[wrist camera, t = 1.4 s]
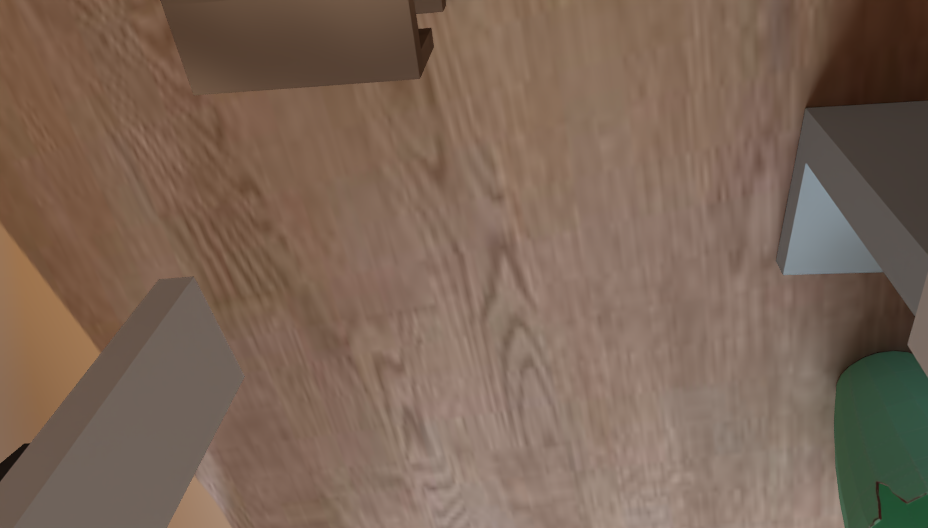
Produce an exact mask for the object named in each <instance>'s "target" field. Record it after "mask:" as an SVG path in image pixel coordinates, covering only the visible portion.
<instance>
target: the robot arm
mask: <svg viewBox="0 0 928 528" xmlns="http://www.w3.org/2000/svg"><path fill="white" fill-rule="evenodd" d="M907 345H908V347H909V348H910V350H911V351H912V353H913V355H914V356H915V358H916V360H917V361H918V363H919V364H920V366H921V368H922V369H923V371H924V372H925V374H926V376H927V377H928V273H927V277H926V280H925V284H924V287H923V291H922V295H921V298H920V302H919V305H918V309H917V312H916V316H915V319H914V323H913V326H912V330H911V334H910V337H909V341H908V344H907ZM244 377H245V376H244V374H243V372H242V370H241V368H240V366H239V364H238V362H237V360H236V358H235V356H234V354H233V352H232V351H231V349H230V347H229V345H228V343H227V341H226V339H225V337H224V335H223V333H222V331H221V329H220V327H219V325H218V323H217V321H216V319H215V317H214V315H213V313H212V311H211V309H210V307H209V305H208V303H207V301H206V299H205V297H204V295H203V293H202V291H201V289H200V287H199V285H198V283H197V281H196V280H195V278H194V276H193V277H181V278H168V279H159V280H158V281H157V282H156V284H155V285H154V286H153V287H152V289H151V290H150V291H149V293H148V294H147V295H146V296H145V298H144V299H143V300H142V302H141V303H140V304H139V305H138V307H137V308H136V309H135V310H134V312H133V313H132V314H131V316H130V317H129V318H128V319H127V321H126V322H125V323H124V324H123V326H122V327H121V328H120V330H119V331H118V332H117V333H116V335H115V336H114V337H113V339H112V340H111V341H110V342H109V344H108V345H107V346H106V347H105V349H104V350H103V351H102V353H101V354H100V355H99V357H98V358H97V359H96V360H95V362H94V363H93V364H92V365H91V367H90V368H89V369H88V370H87V372H86V373H85V374H84V376H83V377H82V378H81V379H80V381H79V382H78V383H77V384H76V386H75V387H74V388H73V390H72V391H71V392H70V393H69V395H68V396H67V397H66V399H65V400H64V401H63V402H62V404H61V405H60V406H59V407H58V409H57V410H56V411H55V413H54V414H53V415H52V416H51V418H50V419H49V420H48V421H47V423H46V424H45V425H44V427H43V428H42V429H41V430H40V432H39V433H38V434H37V436H36V437H35V438H34V439H33V441H32V442H31V443H29V444H23V445H22V446H21V447H20V448H18V449H17V450H16V451H15V452H14V453H12V454H11V455H10V456H9V457H8V458H6V459H5V460H4V461H3V462H2V463H0V528H167V527H168V525H169V522H170V520H171V519H172V517H173V515H174V513H175V511H176V509H177V507H178V505H179V503H180V501H181V499H182V497H183V495H184V493H185V492H186V490H187V487H188V486H189V484H190V482H191V480H192V478H193V476H194V474H195V472H196V470H197V468H198V466H199V464H200V462H201V460H202V458H203V457H204V455H205V453H206V451H207V449H208V447H209V445H210V443H211V441H212V439H213V437H214V435H215V433H216V431H217V429H218V427H219V425H220V423H221V422H222V420H223V418H224V416H225V414H226V412H227V410H228V408H229V406H230V404H231V402H232V400H233V398H234V396H235V394H236V392H237V390H238V388H239V387H240V385H241V383H242V381H243V379H244Z"/></svg>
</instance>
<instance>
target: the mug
mask: <svg viewBox="0 0 928 528" xmlns="http://www.w3.org/2000/svg"><path fill="white" fill-rule="evenodd" d="M834 439H835V464H836V474H837V483H838V491H839V499H840V505H841V510H842V515H843V520H844V526H845V528H928V377H927V376H926V374H925V372H924V371H923V369H922V368H921V366H920V364H919V363H918V361H917V360H916V358H915V356H914V355H913V354H912V353H909V352H900V351H889V352H881V353H876V354H873V355H870V356H867V357H864V358H862V359H860V360H859V361H857V362H856V363H854V364H852V365H851V366H849V367H848V368H847V369H846V370H845V371H844V372H843V373H842V374H841V376H840V378H839V380H838V382H837V384H836V399H835V413H834Z"/></svg>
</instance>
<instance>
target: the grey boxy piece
mask: <svg viewBox="0 0 928 528" xmlns="http://www.w3.org/2000/svg"><path fill="white" fill-rule="evenodd" d="M776 262H777V264H778V266H779V268H780V270H781V272H782V274H783V275H800V274H836V273H872V272H884V273H885V275H886V276H887V278H888V279H889V280H890V282H891V283H892V285H893V286H894V288H895V289H896V290H897V292H898V293H899V295H900V296H901V297H902V299H903V300H904V302H905V303H906V304H907V306H908V307H909V309H910V310H911V311H912V313H913V314H914V316H916V312H917V309H918V305H919V302H920V298H921V295H922V291H923V287H924V284H925V280H926V277H927V273H928V101H913V102H897V103H880V104H864V105H848V106H831V107H815V108H805V113H804V118H803V124H802V129H801V134H800V139H799V144H798V149H797V155H796V160H795V165H794V170H793V175H792V180H791V186H790V191H789V196H788V201H787V206H786V212H785V217H784V222H783V227H782V232H781V237H780V243H779V248H778V253H777V258H776Z"/></svg>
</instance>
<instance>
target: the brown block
mask: <svg viewBox="0 0 928 528" xmlns="http://www.w3.org/2000/svg"><path fill="white" fill-rule="evenodd" d="M160 1H161V3H162V6H163V9H164V12H165V15H166V18H167V21H168V23H169V26H170V29H171V32H172V35H173V38H174V41H175V43H176V46H177V49H178V52H179V55H180V58H181V61H182V63H183V66H184V69H185V72H186V75H187V78H188V81H189V83H190V86H191V89H192V92H193V95H204V94H218V93H232V92H246V91H260V90H273V89H287V88H301V87H315V86H329V85H342V84H356V83H370V82H384V81H398V80H411V79H420V77H421V75H422V73H423V71H424V68H425V66H426V64H427V61H428V59H429V57H430V54H431V52H432V50H433V48H434V44H433V37H432V29H431V28H425V29H418V25H417V18H416V14H422V13H434V12H443V11H444V8H445V6H446V2H445V0H160Z"/></svg>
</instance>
